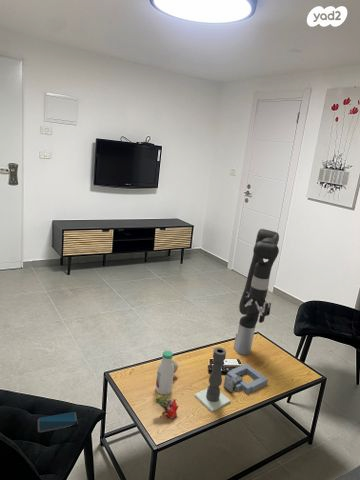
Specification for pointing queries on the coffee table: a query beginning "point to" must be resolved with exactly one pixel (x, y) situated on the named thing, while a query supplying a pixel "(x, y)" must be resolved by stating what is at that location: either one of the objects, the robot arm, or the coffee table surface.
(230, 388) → the grey t-shaped block
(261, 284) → the robot arm
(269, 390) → the coffee table surface
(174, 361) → the decorative fruit
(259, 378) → the socket block
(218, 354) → the candle holder
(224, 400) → the board
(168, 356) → the milk bottle
